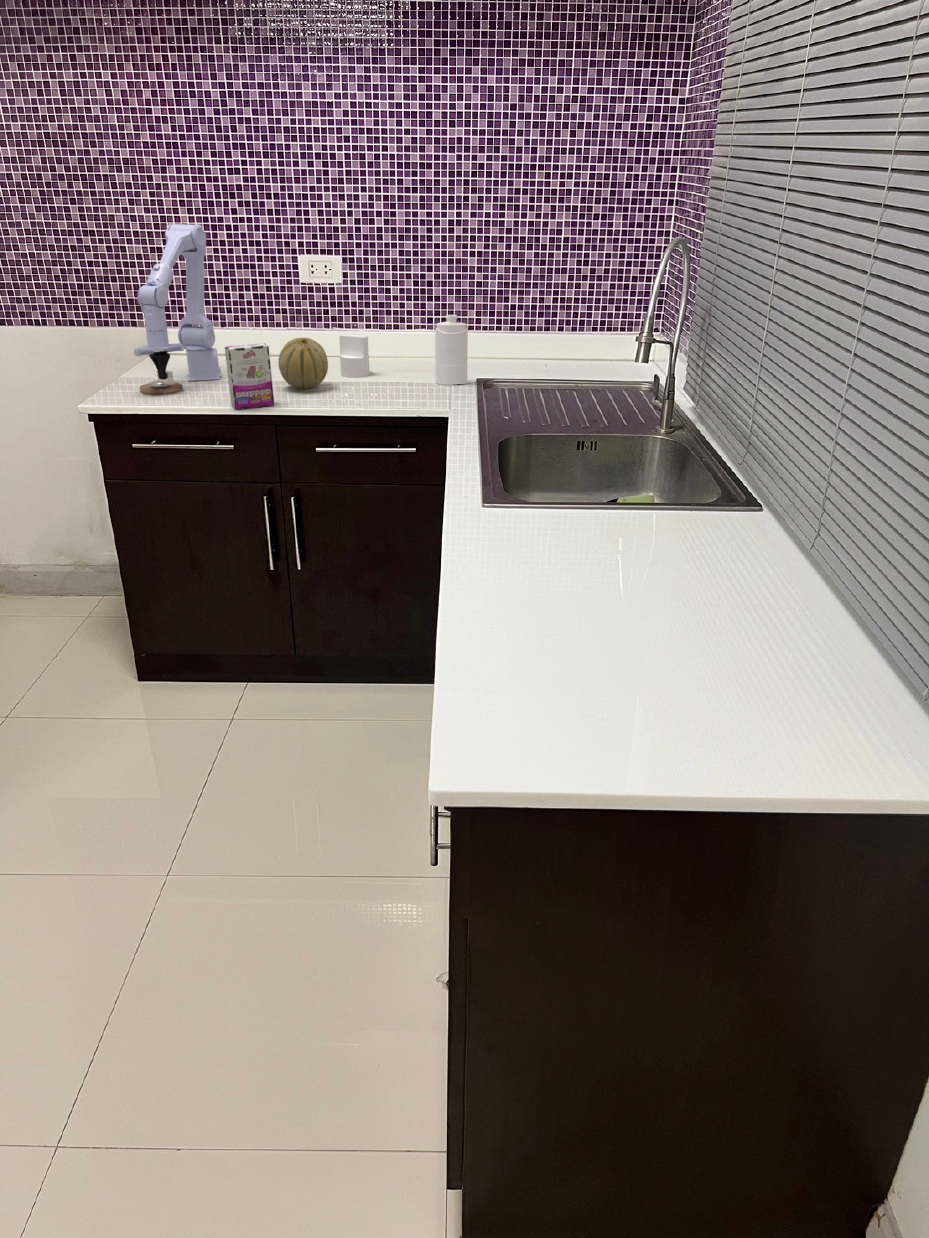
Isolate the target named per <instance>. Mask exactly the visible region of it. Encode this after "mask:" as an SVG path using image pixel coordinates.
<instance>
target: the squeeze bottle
mask: <svg viewBox="0 0 929 1238" xmlns="http://www.w3.org/2000/svg"><path fill="white" fill-rule="evenodd" d="M457 319H458V315H457V314H446V315H445V321H443V322H437V323H436V328H435V330H434V332H435V333H434V334H435V335H434V340H435V343H434V344H435V358H434V359H435V363H434V364H435V384H436V385H441V386H454V385H453V384H465V385H467V384H468V340H469V339H468V335H469V334H468V333H469V332H468V330H469V329H468V328H467V324H466V323H465V322H459V321H457ZM466 383H467V384H466Z"/></svg>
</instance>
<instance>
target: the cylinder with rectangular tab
mask: <svg viewBox="0 0 929 1238" xmlns="http://www.w3.org/2000/svg"><path fill="white" fill-rule="evenodd" d="M339 351H340V352H339V362H340V376H341V377H344V378H347V379H348V378H350V379H351V378H352V379H354V378H355V379H358V378H359V379H360V378H366V377H369V376H370V374H371V373H370V355H369V336H368V335H360V334H359V335H358V334H348V333H347V334H346V333H342V334H339Z"/></svg>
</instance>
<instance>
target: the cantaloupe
mask: <svg viewBox="0 0 929 1238" xmlns="http://www.w3.org/2000/svg"><path fill="white" fill-rule="evenodd" d="M278 369H279V372H280V375H281V377H282V379H283V380H284V381H285V382H286V384H288V385H290V386H291V387H293V388H296V389H300V390H308V389H313V388H316V387H317V386H319V385H320V384H321V383H322V382H323V381H324V380H325V378H326V376H327V373H328V371H329V361H328V356H327V352H326V351H325V349H324V347H323V346H322V345H321V344H320V343H319V342H317V341H316V340H314V339H312V338H310V337H296V338H294V339H292V340H289V341H287V342H286V344H284V346H283V347H282V348H281V350H280V352H279V355H278Z"/></svg>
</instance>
